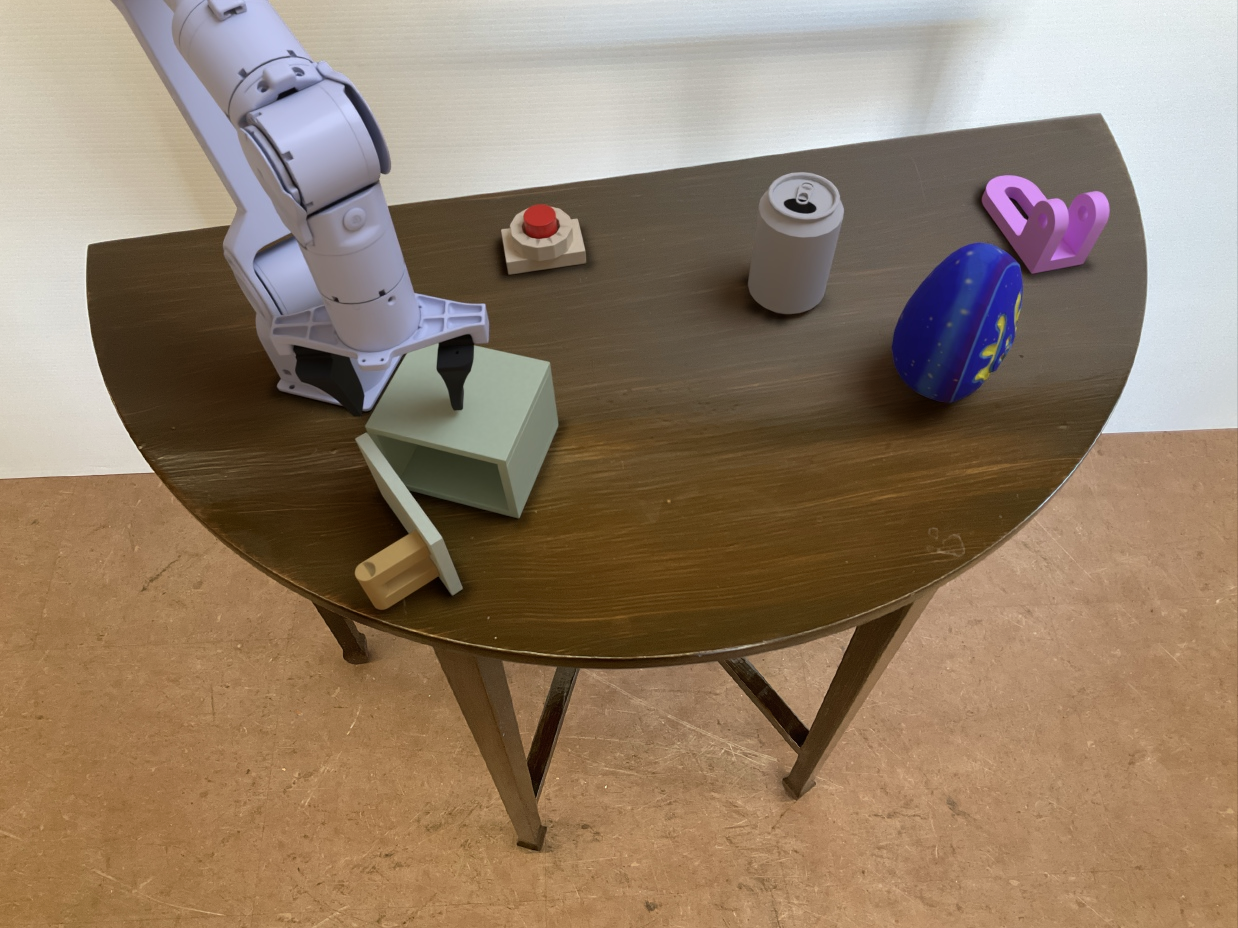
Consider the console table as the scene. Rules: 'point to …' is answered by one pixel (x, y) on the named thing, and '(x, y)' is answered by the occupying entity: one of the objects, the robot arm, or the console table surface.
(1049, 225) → the bracket
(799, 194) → the can
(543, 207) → the button
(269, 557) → the console table surface
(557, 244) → the button box
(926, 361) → the ornament
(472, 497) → the cupboard
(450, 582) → the door
